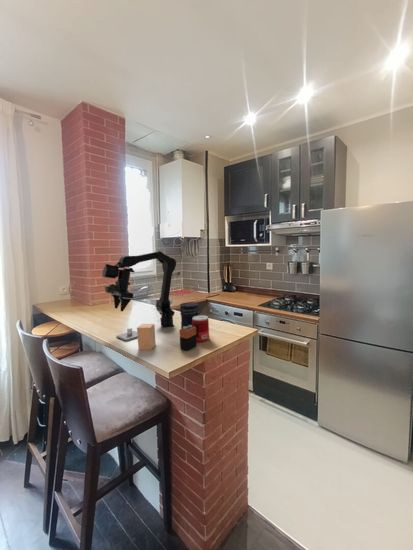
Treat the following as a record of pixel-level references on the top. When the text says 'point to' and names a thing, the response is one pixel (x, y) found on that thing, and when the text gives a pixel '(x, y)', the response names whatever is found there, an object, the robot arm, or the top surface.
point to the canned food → (201, 327)
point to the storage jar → (188, 313)
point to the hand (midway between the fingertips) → (118, 309)
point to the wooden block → (146, 336)
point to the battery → (188, 337)
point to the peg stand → (128, 335)
